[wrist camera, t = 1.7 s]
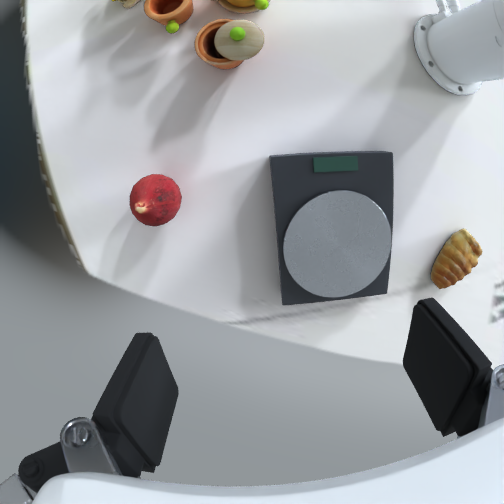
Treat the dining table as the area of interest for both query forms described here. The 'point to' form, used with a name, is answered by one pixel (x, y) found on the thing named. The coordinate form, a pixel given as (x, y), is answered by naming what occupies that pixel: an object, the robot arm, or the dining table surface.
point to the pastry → (455, 259)
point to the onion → (155, 200)
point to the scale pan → (337, 243)
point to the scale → (323, 180)
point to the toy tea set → (212, 29)
